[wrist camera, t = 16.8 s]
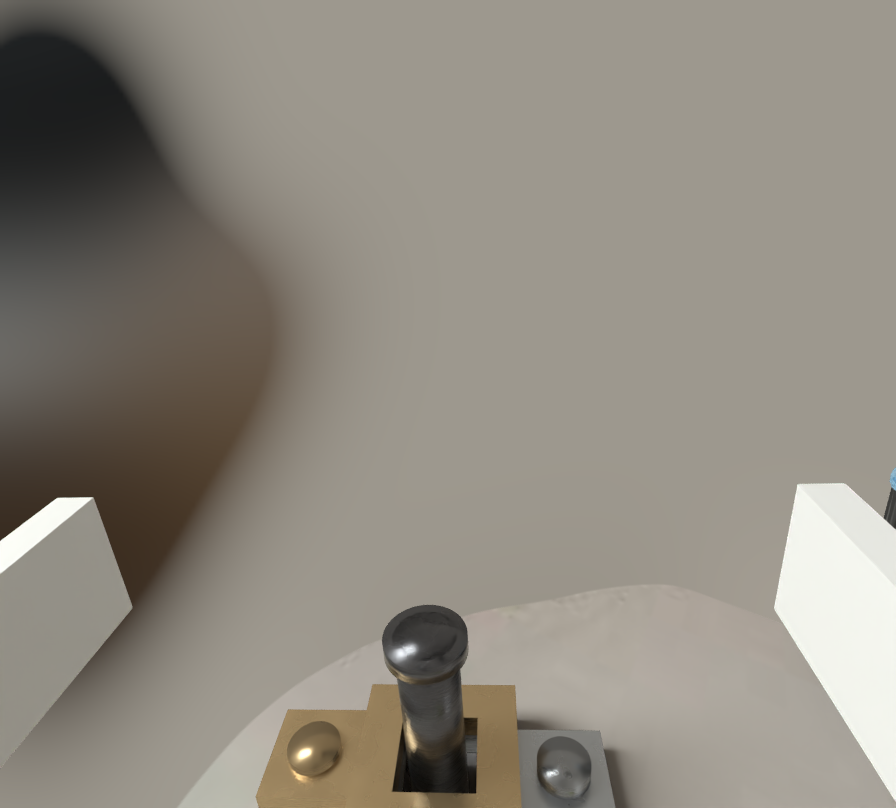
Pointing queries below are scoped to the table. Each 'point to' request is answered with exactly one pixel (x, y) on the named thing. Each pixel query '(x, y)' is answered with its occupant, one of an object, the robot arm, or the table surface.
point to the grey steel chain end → (556, 769)
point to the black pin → (430, 694)
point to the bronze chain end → (387, 755)
